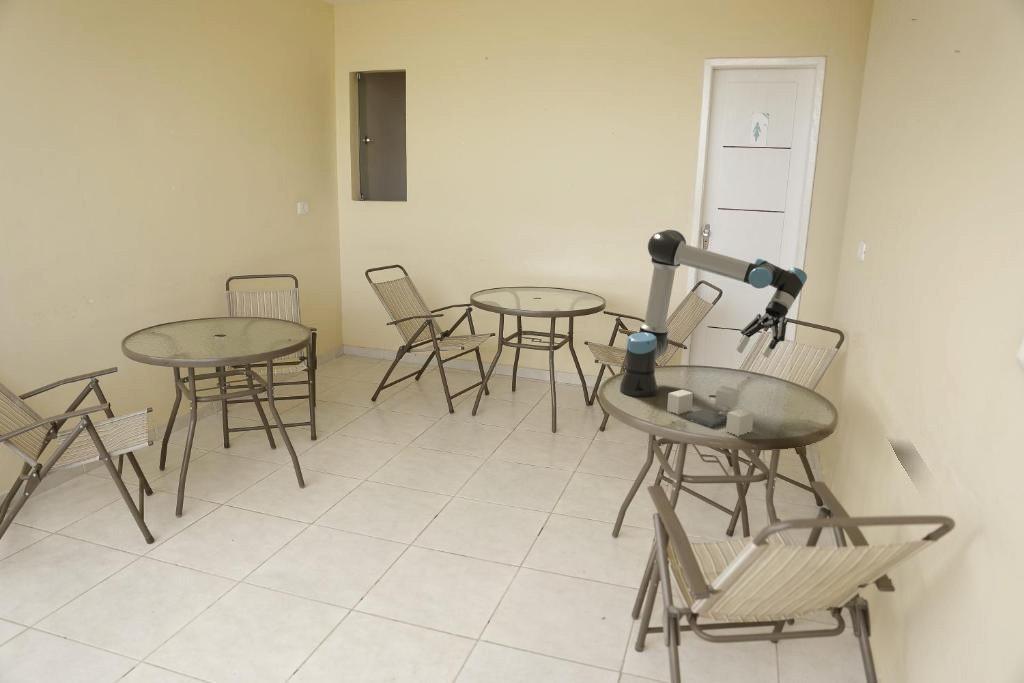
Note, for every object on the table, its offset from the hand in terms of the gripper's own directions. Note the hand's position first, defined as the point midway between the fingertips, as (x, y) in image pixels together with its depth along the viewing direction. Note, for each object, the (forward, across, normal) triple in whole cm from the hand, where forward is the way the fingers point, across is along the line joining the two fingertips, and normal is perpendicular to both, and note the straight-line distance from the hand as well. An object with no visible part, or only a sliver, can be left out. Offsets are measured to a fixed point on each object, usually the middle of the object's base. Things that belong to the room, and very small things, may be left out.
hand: (751, 353), depth 253 cm
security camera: (+24, +2, -6) cm, 25 cm away
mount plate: (+30, 0, +2) cm, 30 cm away
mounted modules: (+30, 0, +2) cm, 30 cm away
